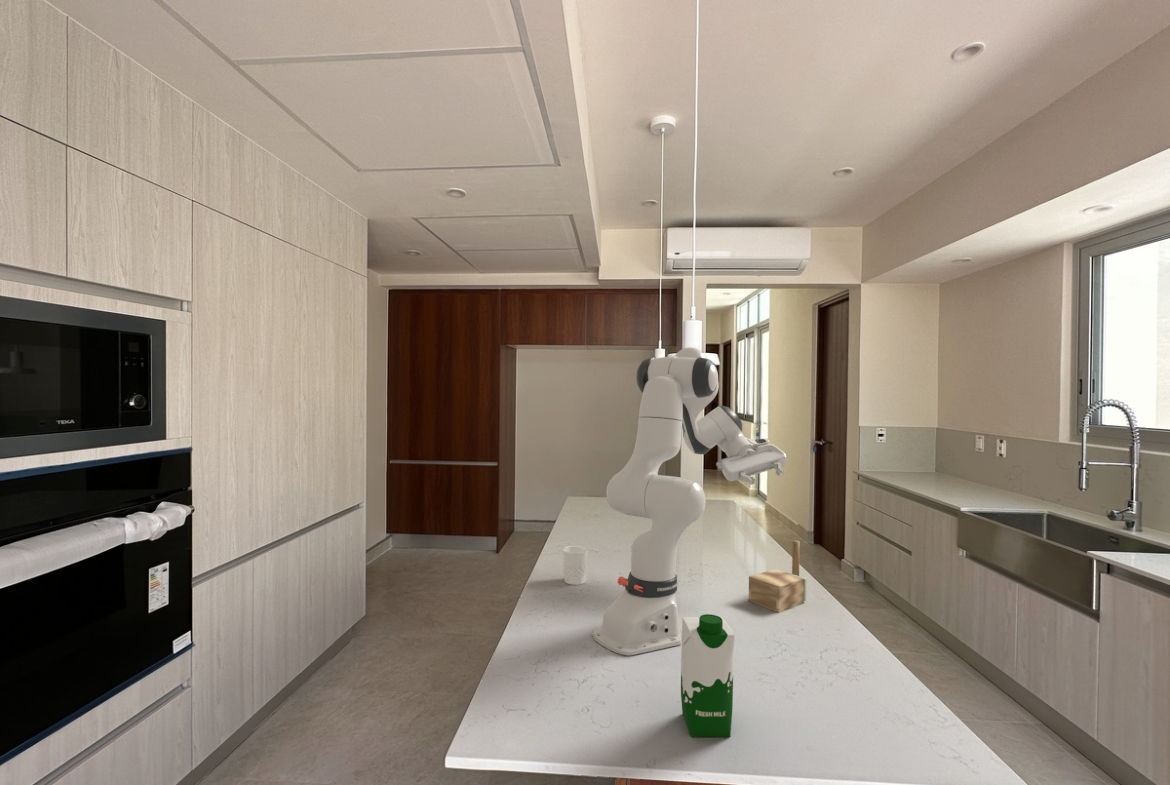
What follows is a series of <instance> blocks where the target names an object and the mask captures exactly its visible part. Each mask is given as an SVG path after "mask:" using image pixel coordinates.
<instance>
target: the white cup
mask: <svg viewBox="0 0 1170 785" xmlns="http://www.w3.org/2000/svg"><path fill="white" fill-rule="evenodd" d="M562 552H563V554H562V557H563V559H562V560H563V563H562V564H563V574H564V580H563V581H564V583H565V584H568V585H570V586H572V585H573V586H578V585H579V586H580V585H583V584H585V583H586V582H587V573H588V562H589V549H588V547H585V546H581V545H580V546H579V545H572V546H571V545H570V546H565V547H564V548H563V549H562Z"/></svg>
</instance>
